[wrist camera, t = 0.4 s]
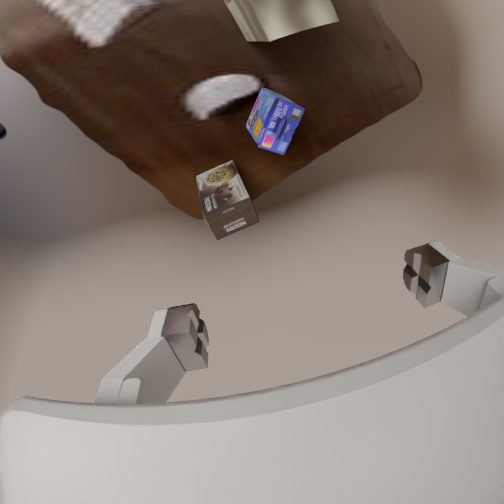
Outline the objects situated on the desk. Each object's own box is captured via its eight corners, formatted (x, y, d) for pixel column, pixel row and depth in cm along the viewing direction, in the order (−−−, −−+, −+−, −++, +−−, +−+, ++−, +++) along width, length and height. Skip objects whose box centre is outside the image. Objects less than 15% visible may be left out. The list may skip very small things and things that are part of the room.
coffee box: (206, 196, 63) (216, 241, 52) (195, 175, 59) (201, 217, 47) (242, 181, 63) (260, 223, 52) (233, 159, 58) (250, 197, 47)
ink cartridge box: (260, 85, 47) (284, 101, 37) (284, 94, 50) (313, 112, 40) (243, 127, 53) (261, 154, 43) (266, 134, 56) (290, 162, 46)
